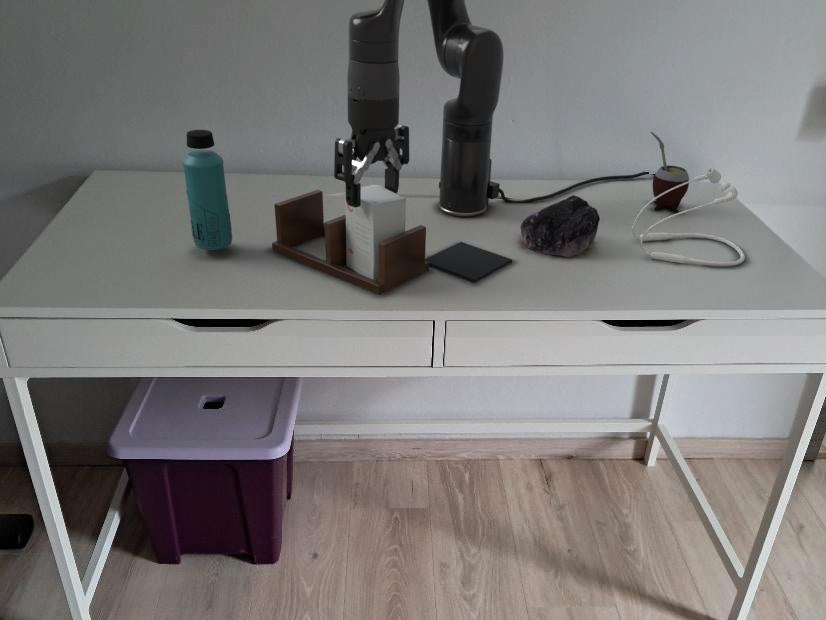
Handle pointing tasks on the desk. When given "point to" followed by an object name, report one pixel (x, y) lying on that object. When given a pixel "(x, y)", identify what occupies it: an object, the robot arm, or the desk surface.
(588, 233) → the crystal cluster
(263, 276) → the desk surface
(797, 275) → the desk surface
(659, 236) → the earphone
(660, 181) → the mate gourd
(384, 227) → the small box
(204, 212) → the beverage bottle
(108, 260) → the desk surface
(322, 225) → the rack
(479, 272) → the mat
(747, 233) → the desk surface
